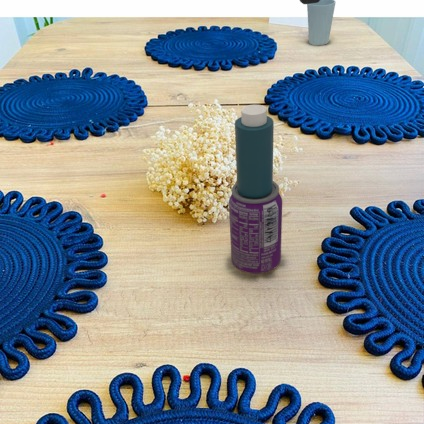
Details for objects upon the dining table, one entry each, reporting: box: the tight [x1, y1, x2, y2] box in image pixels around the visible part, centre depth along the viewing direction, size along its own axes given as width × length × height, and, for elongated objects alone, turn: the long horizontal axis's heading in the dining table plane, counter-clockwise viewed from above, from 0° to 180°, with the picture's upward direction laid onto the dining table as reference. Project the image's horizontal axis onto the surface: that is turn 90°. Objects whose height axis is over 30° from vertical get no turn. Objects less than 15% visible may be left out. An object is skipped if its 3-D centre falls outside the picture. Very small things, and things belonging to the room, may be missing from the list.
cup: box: [306, 0, 336, 46], centre depth 149 cm, size 8×8×10 cm
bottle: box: [234, 104, 275, 198], centre depth 66 cm, size 5×5×10 cm
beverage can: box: [228, 180, 283, 274], centre depth 73 cm, size 7×7×12 cm
